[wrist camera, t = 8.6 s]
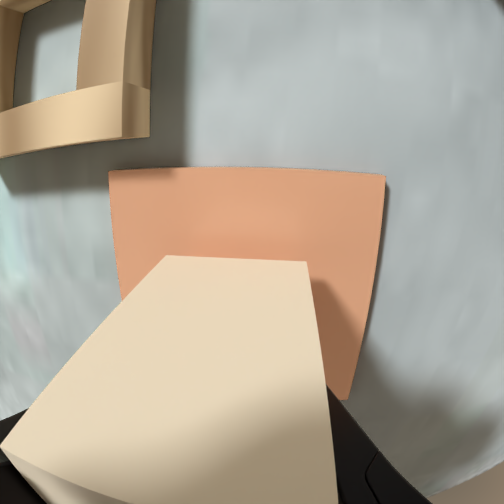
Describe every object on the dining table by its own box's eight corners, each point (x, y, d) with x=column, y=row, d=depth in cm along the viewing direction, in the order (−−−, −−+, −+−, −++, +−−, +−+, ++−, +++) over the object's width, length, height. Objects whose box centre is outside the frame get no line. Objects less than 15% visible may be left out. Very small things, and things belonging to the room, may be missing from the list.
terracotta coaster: (381, 174, 12) (385, 176, 11) (346, 392, 15) (347, 399, 15) (114, 169, 13) (108, 171, 12) (143, 376, 16) (139, 383, 16)
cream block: (306, 261, 11) (339, 524, 3) (295, 373, 13) (293, 586, 4) (166, 255, 12) (-1, 446, 3) (178, 364, 13) (98, 550, 5)
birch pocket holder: (165, -63, 9) (146, -88, 6) (149, 137, 12) (121, 137, 10) (7, -2, 10) (-19, -11, 7) (-8, 160, 13) (-40, 166, 11)
